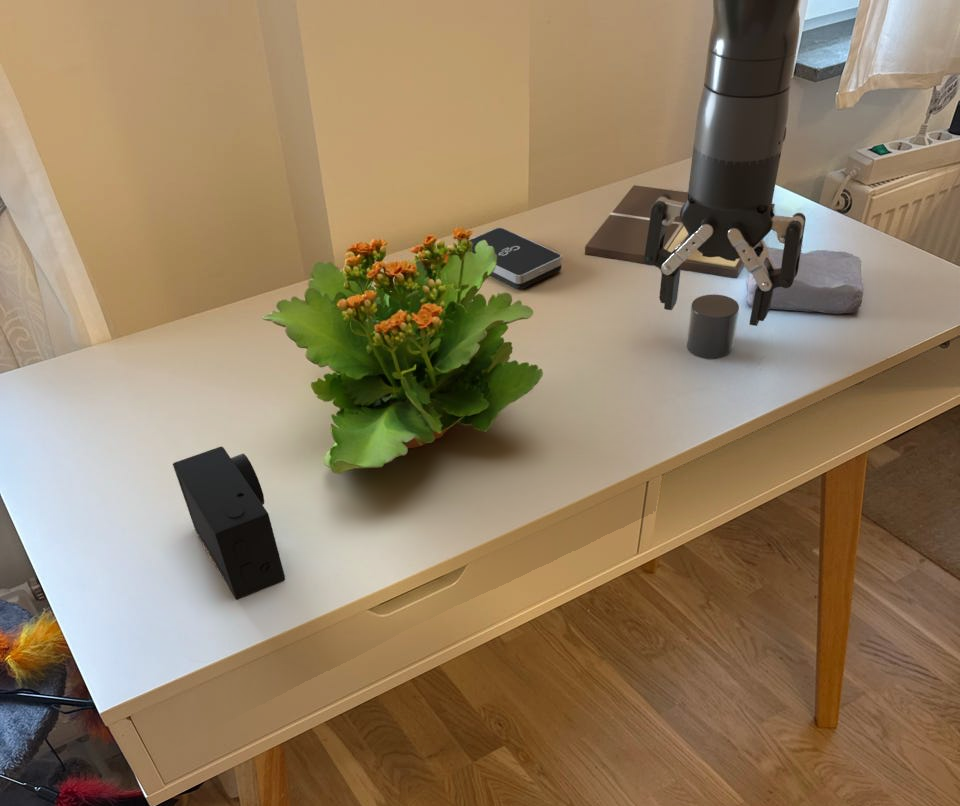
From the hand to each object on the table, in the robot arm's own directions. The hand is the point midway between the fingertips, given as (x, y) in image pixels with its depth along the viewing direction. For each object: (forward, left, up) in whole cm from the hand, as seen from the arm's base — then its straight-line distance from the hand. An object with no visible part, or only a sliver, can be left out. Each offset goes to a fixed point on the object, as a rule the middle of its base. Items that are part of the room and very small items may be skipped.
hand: (712, 314), depth 95 cm
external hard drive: (+26, -9, -4) cm, 28 cm away
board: (+10, -24, -4) cm, 26 cm away
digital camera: (+27, +44, -4) cm, 52 cm away
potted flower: (+23, +22, -4) cm, 32 cm away
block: (-6, -15, -4) cm, 16 cm away
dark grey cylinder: (0, 0, -4) cm, 4 cm away
